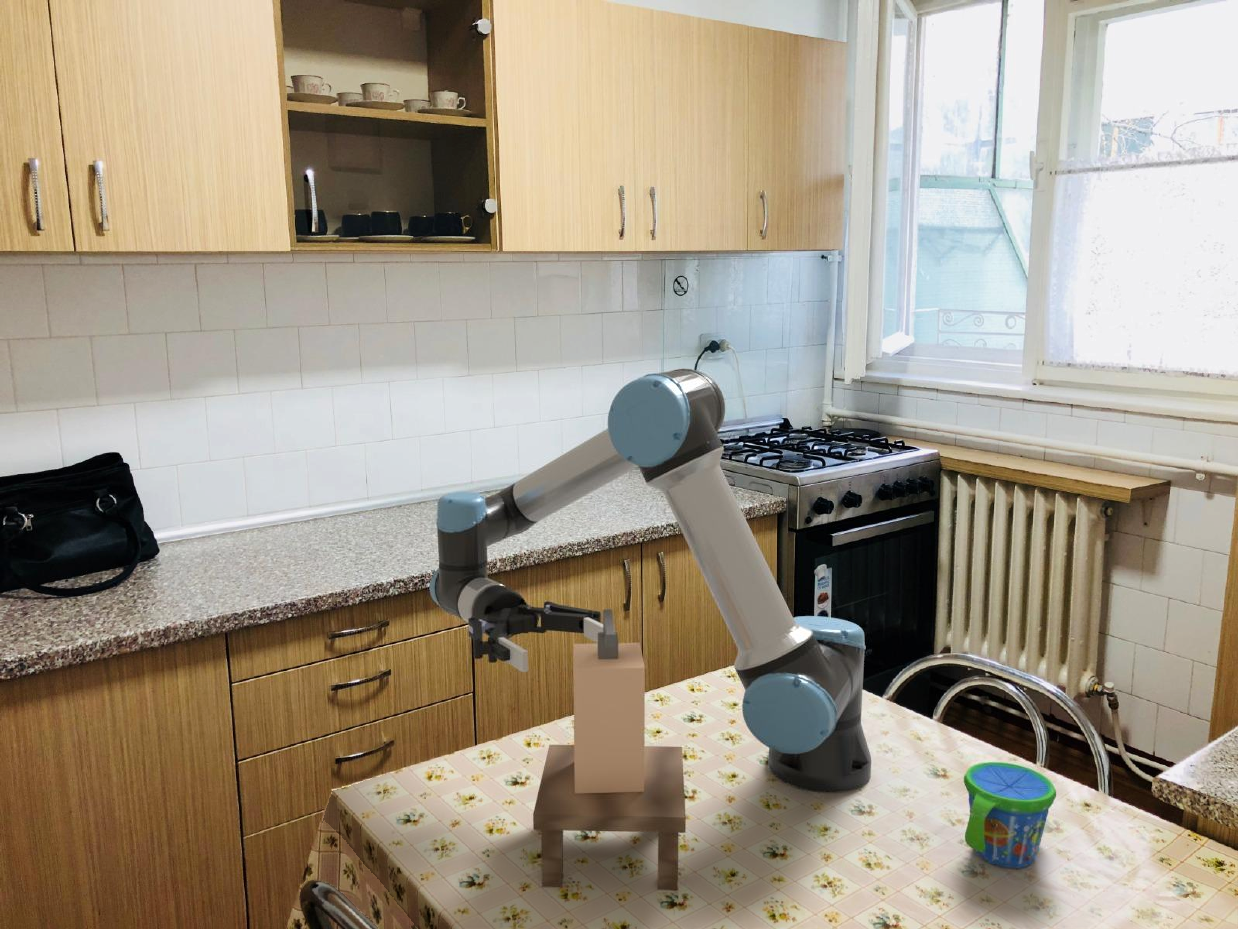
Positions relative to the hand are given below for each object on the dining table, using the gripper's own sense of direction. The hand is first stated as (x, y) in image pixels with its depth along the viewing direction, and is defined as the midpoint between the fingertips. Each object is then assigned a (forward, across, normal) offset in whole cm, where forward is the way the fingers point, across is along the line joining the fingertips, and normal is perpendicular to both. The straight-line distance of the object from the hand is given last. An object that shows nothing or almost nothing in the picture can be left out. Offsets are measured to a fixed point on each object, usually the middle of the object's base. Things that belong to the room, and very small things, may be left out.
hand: (570, 650), depth 131 cm
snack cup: (+39, -40, -24) cm, 61 cm away
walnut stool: (+10, 0, -24) cm, 26 cm away
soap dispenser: (+11, +1, -14) cm, 18 cm away
